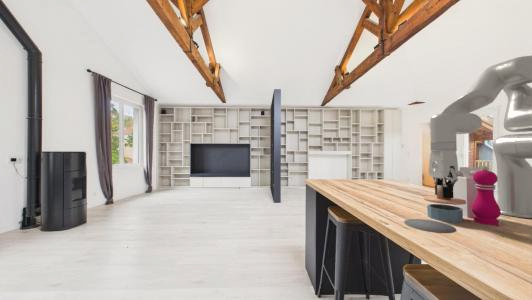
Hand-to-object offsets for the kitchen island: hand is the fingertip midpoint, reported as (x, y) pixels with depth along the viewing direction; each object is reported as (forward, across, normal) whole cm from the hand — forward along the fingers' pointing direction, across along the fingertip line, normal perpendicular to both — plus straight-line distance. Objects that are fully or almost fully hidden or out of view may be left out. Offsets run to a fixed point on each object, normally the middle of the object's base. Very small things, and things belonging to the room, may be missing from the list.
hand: (444, 196), depth 81 cm
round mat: (+9, +10, -10) cm, 17 cm away
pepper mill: (+9, +3, +11) cm, 14 cm away
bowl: (+9, 0, 0) cm, 9 cm away
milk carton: (+9, -6, +12) cm, 16 cm away
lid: (+2, 0, 0) cm, 2 cm away
